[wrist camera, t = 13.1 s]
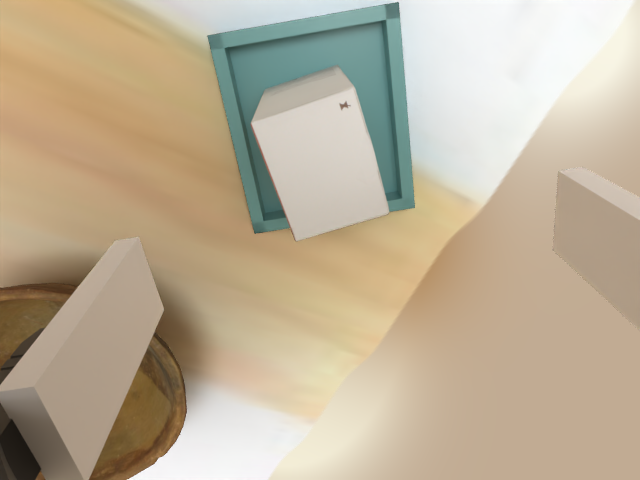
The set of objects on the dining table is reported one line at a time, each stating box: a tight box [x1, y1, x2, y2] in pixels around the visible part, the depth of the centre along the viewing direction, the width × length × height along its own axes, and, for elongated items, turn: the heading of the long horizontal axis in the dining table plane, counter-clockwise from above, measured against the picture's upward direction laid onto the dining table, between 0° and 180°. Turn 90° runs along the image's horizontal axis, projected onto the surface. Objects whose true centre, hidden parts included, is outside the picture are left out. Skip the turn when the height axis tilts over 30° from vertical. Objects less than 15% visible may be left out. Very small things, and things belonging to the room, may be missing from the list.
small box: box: [251, 65, 389, 241], centre depth 34 cm, size 8×6×13 cm
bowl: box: [0, 283, 187, 480], centre depth 44 cm, size 22×23×10 cm
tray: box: [208, 2, 415, 234], centre depth 39 cm, size 14×16×3 cm
